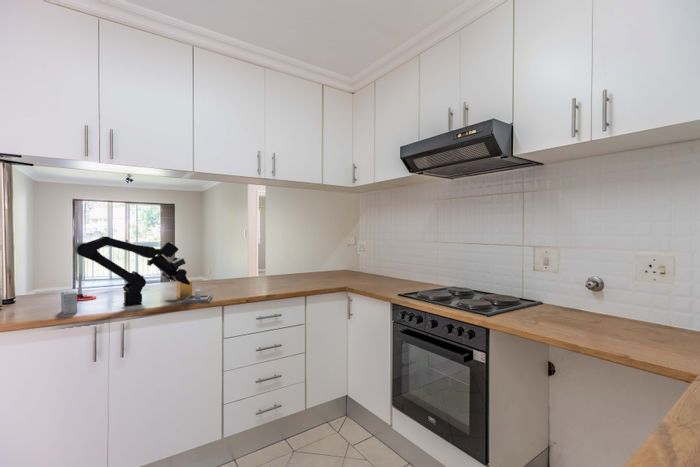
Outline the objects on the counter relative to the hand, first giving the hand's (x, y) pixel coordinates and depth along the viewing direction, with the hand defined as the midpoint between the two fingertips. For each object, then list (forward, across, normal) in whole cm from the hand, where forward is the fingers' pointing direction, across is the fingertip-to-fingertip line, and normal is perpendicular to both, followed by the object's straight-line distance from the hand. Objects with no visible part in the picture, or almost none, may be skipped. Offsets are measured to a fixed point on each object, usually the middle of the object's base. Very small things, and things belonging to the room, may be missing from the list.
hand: (185, 283), depth 174 cm
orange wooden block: (+5, 0, +6) cm, 7 cm away
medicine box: (-28, +4, +39) cm, 48 cm away
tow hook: (-21, +31, +32) cm, 49 cm away
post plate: (+5, -14, +5) cm, 16 cm away
